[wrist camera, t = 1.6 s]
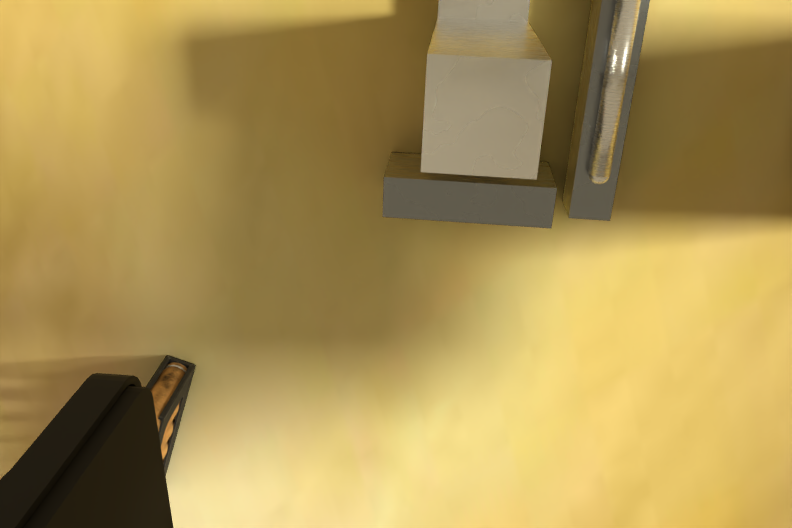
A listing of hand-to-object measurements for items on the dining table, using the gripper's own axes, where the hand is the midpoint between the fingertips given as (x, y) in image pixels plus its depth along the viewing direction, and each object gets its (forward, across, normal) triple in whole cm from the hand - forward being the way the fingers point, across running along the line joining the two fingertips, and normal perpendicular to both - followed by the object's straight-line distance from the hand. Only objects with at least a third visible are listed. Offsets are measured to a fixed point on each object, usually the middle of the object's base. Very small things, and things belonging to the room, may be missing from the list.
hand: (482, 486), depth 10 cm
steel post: (+28, 0, -1) cm, 28 cm away
